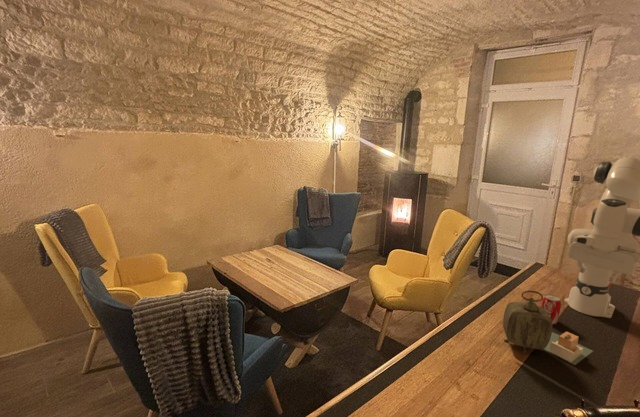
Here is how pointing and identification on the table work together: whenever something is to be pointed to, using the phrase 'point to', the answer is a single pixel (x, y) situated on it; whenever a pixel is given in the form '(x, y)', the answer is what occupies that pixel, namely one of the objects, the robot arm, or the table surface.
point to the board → (585, 352)
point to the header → (565, 352)
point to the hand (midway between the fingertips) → (596, 276)
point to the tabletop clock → (527, 324)
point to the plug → (568, 341)
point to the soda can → (552, 306)
